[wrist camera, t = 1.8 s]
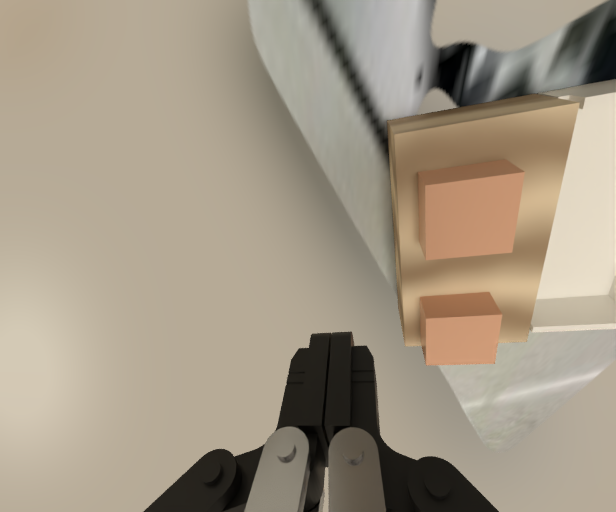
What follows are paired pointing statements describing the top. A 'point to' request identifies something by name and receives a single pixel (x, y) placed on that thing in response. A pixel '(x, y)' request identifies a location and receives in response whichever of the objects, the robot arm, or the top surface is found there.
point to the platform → (471, 150)
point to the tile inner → (469, 209)
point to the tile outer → (459, 328)
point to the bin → (583, 221)
